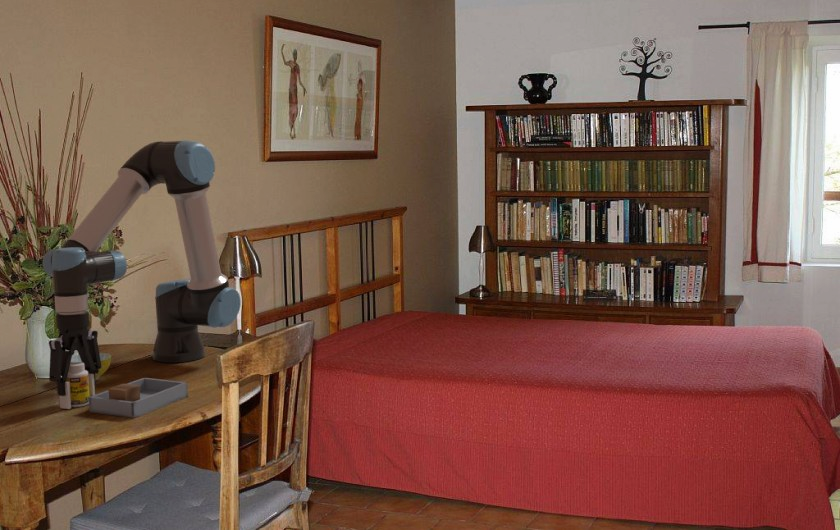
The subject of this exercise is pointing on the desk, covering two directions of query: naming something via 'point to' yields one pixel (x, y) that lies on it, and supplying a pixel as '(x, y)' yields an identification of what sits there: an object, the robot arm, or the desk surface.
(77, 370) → the supplement bottle
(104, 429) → the desk surface
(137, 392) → the walnut cube
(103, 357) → the bowl
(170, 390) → the tray
